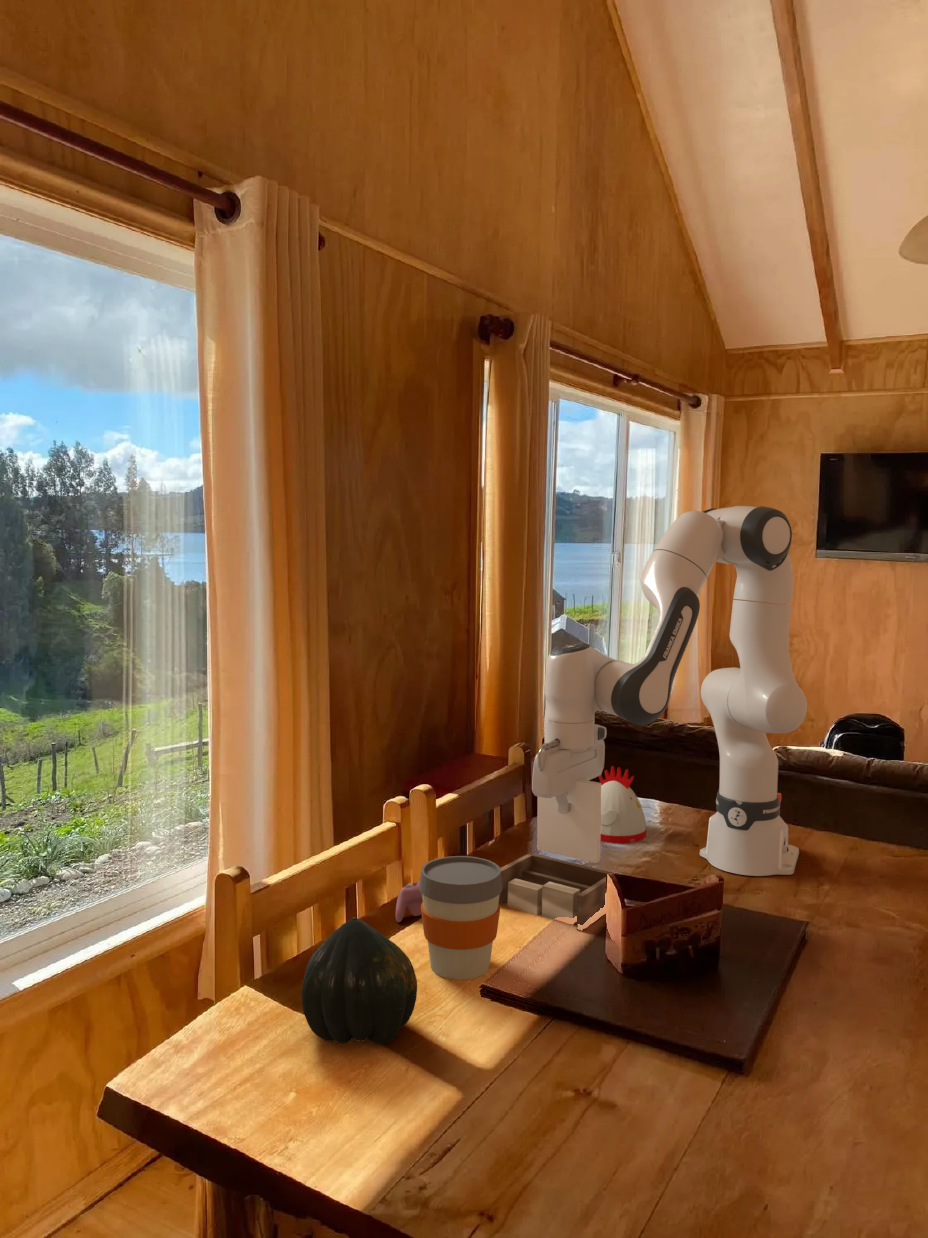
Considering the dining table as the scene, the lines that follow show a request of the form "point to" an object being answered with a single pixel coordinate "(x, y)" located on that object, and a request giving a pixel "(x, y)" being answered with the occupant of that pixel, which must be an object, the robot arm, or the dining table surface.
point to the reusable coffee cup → (460, 914)
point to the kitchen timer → (620, 810)
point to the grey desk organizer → (559, 880)
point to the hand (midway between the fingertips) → (568, 810)
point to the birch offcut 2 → (559, 901)
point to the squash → (358, 986)
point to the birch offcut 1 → (525, 896)
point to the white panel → (572, 823)
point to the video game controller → (409, 901)
